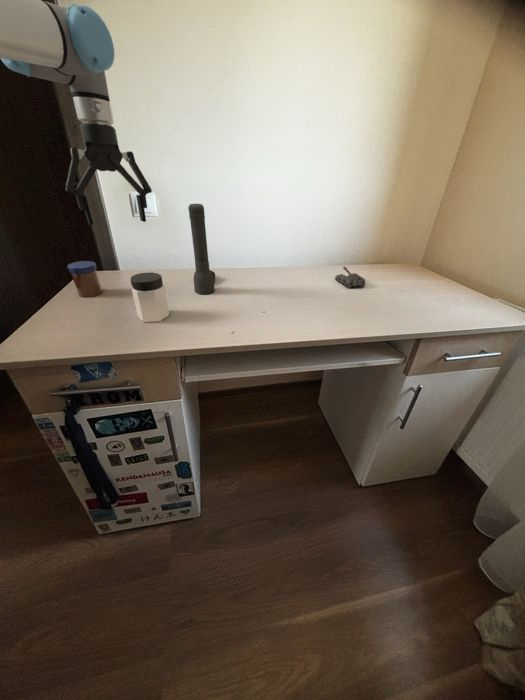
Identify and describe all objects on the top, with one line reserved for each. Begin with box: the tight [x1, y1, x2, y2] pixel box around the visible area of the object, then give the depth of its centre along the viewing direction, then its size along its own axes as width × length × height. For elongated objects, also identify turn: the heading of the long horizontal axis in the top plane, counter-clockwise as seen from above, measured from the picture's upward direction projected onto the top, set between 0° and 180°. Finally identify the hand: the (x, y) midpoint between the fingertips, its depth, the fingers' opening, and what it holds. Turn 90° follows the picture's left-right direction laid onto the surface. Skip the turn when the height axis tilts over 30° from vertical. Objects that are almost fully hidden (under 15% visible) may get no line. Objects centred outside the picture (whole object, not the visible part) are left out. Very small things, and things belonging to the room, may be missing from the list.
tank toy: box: [334, 266, 366, 289], centre depth 113 cm, size 12×10×5 cm
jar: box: [130, 272, 170, 323], centre depth 81 cm, size 9×8×12 cm
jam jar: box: [70, 269, 103, 298], centre depth 94 cm, size 7×7×9 cm
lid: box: [66, 260, 98, 274], centre depth 92 cm, size 8×8×2 cm
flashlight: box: [187, 203, 215, 296], centre depth 93 cm, size 7×28×7 cm
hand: (118, 222), depth 78 cm, fingers open, 13 cm apart
